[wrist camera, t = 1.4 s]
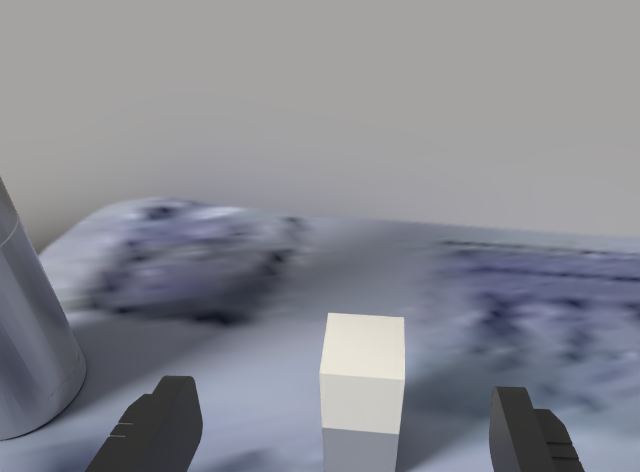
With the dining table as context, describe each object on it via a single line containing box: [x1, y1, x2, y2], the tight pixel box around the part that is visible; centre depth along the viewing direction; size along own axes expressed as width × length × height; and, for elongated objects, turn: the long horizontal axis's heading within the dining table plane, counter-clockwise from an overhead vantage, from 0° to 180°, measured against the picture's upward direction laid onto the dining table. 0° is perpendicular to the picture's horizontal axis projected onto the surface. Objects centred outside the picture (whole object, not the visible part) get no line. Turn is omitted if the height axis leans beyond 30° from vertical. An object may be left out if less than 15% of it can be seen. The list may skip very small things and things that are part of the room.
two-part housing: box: [319, 313, 405, 472], centre depth 31 cm, size 4×4×10 cm
